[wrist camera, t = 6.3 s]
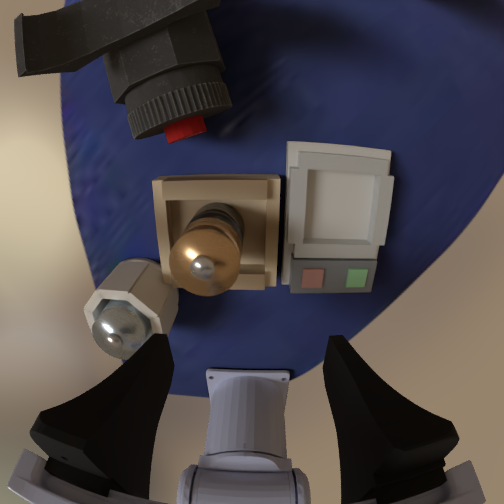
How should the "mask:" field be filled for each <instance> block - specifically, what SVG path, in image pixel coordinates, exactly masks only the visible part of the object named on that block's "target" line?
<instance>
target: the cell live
mask: <svg viewBox="0 0 504 504" xmlns="http://www.w3.org/2000/svg"><path fill="white" fill-rule="evenodd" d="M244 230H245V226H244V221H243V219H242V216H241V215H240V213H239V212H238V211H237V210H236V209H235V208H234V207H232V206H230V205H228V204H226V203H221V202H213V203H209V204H206V205H204V206H203V207H201V208H200V209H199V210H198V211H197V212H196V214H195V215H194V216H193V218H192V219H191V221H190V222H189V224H188V225H187V227H186V228H185V229H184V231H183V232H182V234H181V235H180V237H179V238H178V240H177V241H176V243H175V244H174V246H173V247H172V249H171V252H170V255H169V267H170V270H171V273H172V275H173V277H174V279H175V280H176V281H177V283H178V284H179V285H180V286H181V287H183V288H184V289H185V290H187V291H189V292H191V293H193V294H196V295H200V296H214V295H218V294H221V293H223V292H225V291H227V290H228V289H229V288H231V287H232V285H233V284H234V283H235V281H236V280H237V277H238V275H239V270H240V262H241V254H242V246H243V238H244Z"/></svg>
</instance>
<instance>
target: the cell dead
mask: <svg viewBox="0 0 504 504" xmlns="http://www.w3.org/2000/svg"><path fill="white" fill-rule="evenodd" d="M150 328H151V322H150V319H149V318H148V317H147V316H145V315H144V314H143V313H142V312H140V311H139V310H138V309H137V308H135V307H134V306H133V305H132V304H131V303H129V302H128V301H127V300H114V299H111V300H110V301H109V302H108V304H107V305H106V307H105V308H104V309H103V311H102V312H101V313H100V315H99V316H98V318H97V319H96V320H95V322H94V323H93V325H92V335H93V338H94V340H95V341H96V343H97V344H98V346H99V347H100V348H101V349H102V350H104V351H105V352H106V353H108V354H109V355H111V356H113V357H116V358H119V359H124V360H128V359H129V358H130V357H131V356H132V355H133V354H134V353H135V352H136V351H137V350H138V349H139V348H140V347H141V346H142V345H143V343H144V341H145V339H146V336H147V334H148V332H149V330H150Z"/></svg>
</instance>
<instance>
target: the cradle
mask: <svg viewBox="0 0 504 504" xmlns="http://www.w3.org/2000/svg"><path fill="white" fill-rule="evenodd" d="M390 160H391V151H389V150H384V149H376V148H369V147H360V146H351V145H341V144H330V143H318V142H302V141H287V155H286V186H285V211H284V233H283V252H282V270H281V281H282V284H289V288H290V293H354V292H371V289H372V285H373V280H374V276H375V271H376V266H377V255H378V250H379V245H384V244H385V239H386V233H387V227H388V221H389V214H390V207H391V200H392V192H393V183H394V176H392V175H389V172H390Z"/></svg>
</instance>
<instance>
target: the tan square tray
mask: <svg viewBox="0 0 504 504" xmlns="http://www.w3.org/2000/svg"><path fill="white" fill-rule="evenodd" d="M152 185H153V197H154V208H155V219H156V228H157V237H158V245H159V253H160V260H161V268H162V274H163V281H164V284H172V287H173V288H183V287H181V286H180V285H179V284H178V283H177V281H176V280H175V279H174V277H173V275H172V273H171V270H170V267H169V255H170V252H171V249H172V247H173V246H174V244H175V243H176V241H177V240H178V238H179V237H180V235H181V234H182V232H183V231H184V229H185V228H186V227H187V225H188V224H189V222H190V221H191V219H192V218H193V216H194V215H195V214H196V212H197V211H198V210H199V209H200V208H201V207H203V206H204V205H206V204H209V203H213V202H221V203H226V204H228V205H230V206H232V207H234V208H235V209H236V210H237V211H238V212H239V213H240V215H241V216H242V219H243V221H244V226H245V230H244V238H243V246H242V254H241V262H240V270H239V275H238V277H237V280H236V281H235V283H234V284H233V285H232V287H231V288H229V289H235V290H264V289H265V286H276V275H277V255H278V233H279V207H280V177H279V175H276V174H200V175H172V176H160V177H158V178H156V179H155V180H153V181H152Z"/></svg>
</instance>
